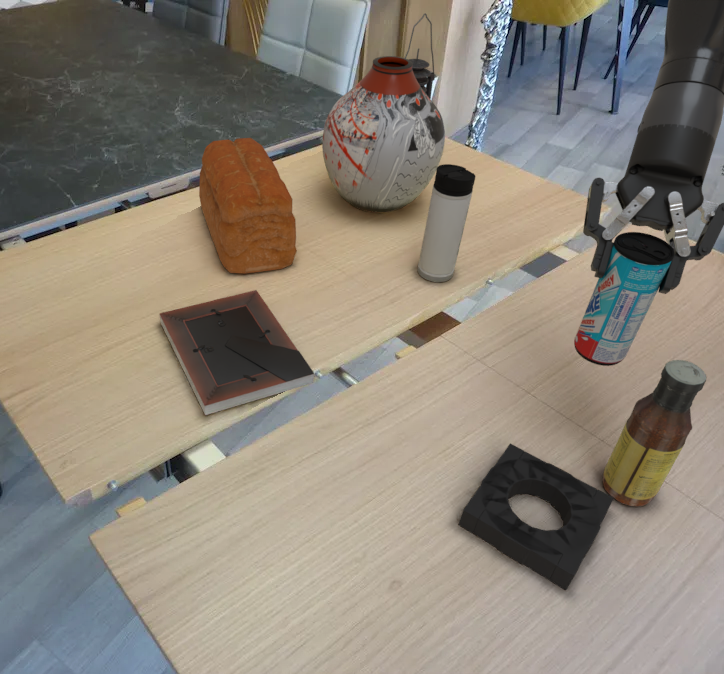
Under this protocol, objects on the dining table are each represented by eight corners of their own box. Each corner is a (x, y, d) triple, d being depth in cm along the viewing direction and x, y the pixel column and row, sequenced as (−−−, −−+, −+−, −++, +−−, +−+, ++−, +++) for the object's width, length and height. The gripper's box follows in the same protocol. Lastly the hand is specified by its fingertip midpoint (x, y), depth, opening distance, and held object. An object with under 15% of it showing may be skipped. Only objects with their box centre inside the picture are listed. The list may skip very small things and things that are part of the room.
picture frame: (313, 385, 96) (256, 300, 111) (314, 372, 95) (256, 288, 109) (205, 417, 91) (160, 324, 106) (204, 404, 89) (159, 312, 104)
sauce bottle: (659, 487, 83) (733, 372, 70) (642, 518, 80) (716, 403, 67) (607, 459, 87) (669, 344, 74) (588, 488, 83) (649, 373, 70)
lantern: (407, 136, 162) (427, 2, 143) (438, 152, 156) (464, 14, 136) (368, 148, 157) (384, 11, 137) (399, 165, 150) (420, 24, 131)
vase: (422, 176, 146) (446, 43, 128) (440, 232, 129) (471, 87, 110) (316, 173, 146) (325, 40, 128) (320, 229, 129) (330, 83, 111)
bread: (263, 196, 138) (264, 126, 128) (300, 268, 119) (304, 191, 109) (197, 203, 135) (192, 132, 126) (223, 278, 116) (220, 201, 106)
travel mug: (408, 268, 119) (427, 164, 106) (438, 259, 122) (459, 156, 109) (430, 287, 115) (452, 181, 102) (460, 277, 117) (485, 172, 104)
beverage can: (592, 329, 83) (636, 226, 74) (634, 356, 80) (686, 251, 70) (561, 346, 81) (602, 241, 71) (603, 375, 77) (652, 268, 67)
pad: (607, 512, 80) (615, 497, 78) (566, 592, 72) (575, 577, 71) (503, 457, 87) (509, 441, 85) (456, 524, 79) (461, 509, 77)
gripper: (612, 110, 71) (566, 260, 70) (765, 135, 66) (717, 295, 66) (599, 138, 78) (557, 274, 78) (736, 163, 74) (693, 307, 73)
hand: (631, 283), depth 72 cm, fingers closed on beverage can, 6 cm apart
